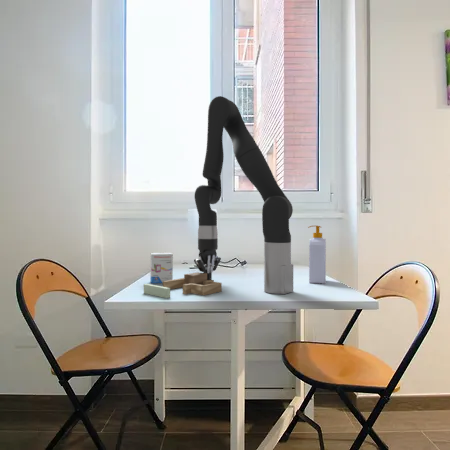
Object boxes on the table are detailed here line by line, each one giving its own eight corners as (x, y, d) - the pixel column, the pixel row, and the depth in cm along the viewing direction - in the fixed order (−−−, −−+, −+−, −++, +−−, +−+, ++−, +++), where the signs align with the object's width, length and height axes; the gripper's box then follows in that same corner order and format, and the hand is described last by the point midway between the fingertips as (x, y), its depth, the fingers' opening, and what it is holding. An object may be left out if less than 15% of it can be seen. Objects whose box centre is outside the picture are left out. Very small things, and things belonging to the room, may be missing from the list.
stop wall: (170, 297, 113) (170, 288, 113) (166, 298, 112) (166, 288, 112) (147, 292, 121) (147, 283, 121) (143, 293, 120) (143, 284, 120)
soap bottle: (308, 279, 149) (308, 225, 148) (325, 280, 147) (325, 225, 146) (307, 283, 140) (307, 225, 140) (325, 284, 138) (325, 225, 138)
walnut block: (207, 286, 132) (207, 273, 132) (193, 289, 126) (193, 275, 126) (197, 285, 135) (197, 272, 135) (184, 287, 130) (184, 274, 129)
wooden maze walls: (226, 290, 125) (226, 281, 125) (198, 296, 114) (198, 287, 114) (191, 284, 137) (191, 276, 137) (162, 289, 126) (162, 281, 126)
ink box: (151, 283, 139) (151, 253, 138) (150, 281, 143) (150, 252, 143) (172, 282, 141) (172, 253, 141) (171, 280, 146) (171, 252, 146)
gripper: (202, 238, 128) (202, 286, 128) (226, 237, 138) (226, 281, 138) (188, 237, 133) (188, 283, 133) (212, 236, 143) (212, 279, 143)
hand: (207, 282), depth 135 cm, fingers closed
